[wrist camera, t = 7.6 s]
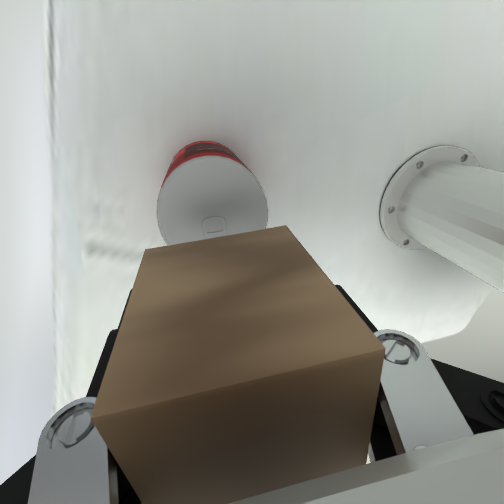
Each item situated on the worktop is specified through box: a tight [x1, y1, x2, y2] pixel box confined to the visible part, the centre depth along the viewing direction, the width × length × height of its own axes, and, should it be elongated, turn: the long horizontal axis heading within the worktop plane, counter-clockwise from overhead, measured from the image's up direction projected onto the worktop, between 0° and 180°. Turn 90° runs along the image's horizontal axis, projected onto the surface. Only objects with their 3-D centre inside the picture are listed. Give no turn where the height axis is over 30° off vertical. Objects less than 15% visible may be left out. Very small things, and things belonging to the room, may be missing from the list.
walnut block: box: [90, 226, 386, 504], centre depth 8 cm, size 5×5×6 cm
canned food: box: [157, 141, 268, 246], centre depth 24 cm, size 8×8×11 cm
